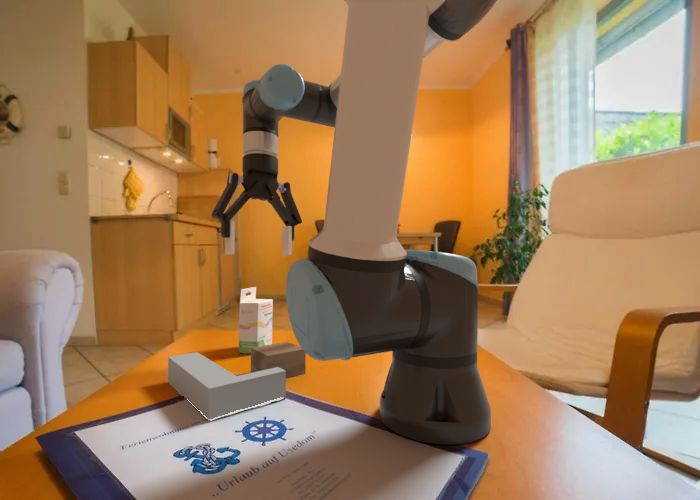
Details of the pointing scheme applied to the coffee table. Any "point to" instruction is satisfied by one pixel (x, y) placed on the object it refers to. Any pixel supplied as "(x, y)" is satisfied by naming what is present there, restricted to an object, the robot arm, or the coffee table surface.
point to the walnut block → (279, 358)
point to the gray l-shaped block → (222, 385)
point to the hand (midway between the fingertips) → (260, 254)
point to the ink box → (254, 321)
